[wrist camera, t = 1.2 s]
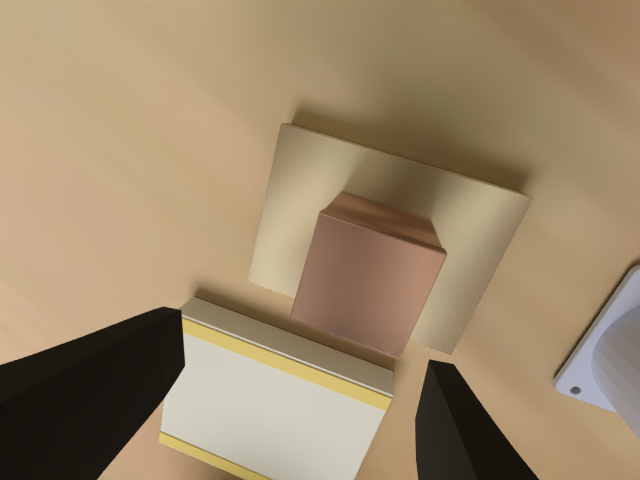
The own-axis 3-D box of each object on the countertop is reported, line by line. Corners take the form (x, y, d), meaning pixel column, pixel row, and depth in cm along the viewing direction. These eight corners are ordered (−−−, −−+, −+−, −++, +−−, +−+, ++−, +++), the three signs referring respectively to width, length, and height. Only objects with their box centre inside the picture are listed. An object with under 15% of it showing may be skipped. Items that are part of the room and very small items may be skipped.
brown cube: (431, 218, 16) (447, 254, 11) (398, 298, 17) (400, 359, 13) (341, 189, 16) (318, 212, 11) (317, 269, 18) (289, 318, 13)
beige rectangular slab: (521, 192, 16) (533, 198, 14) (446, 338, 19) (451, 355, 18) (290, 123, 17) (281, 123, 16) (257, 271, 20) (247, 281, 19)
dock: (393, 371, 20) (393, 396, 19) (339, 490, 25) (335, 520, 23) (193, 296, 22) (174, 312, 20) (175, 420, 26) (158, 443, 24)
